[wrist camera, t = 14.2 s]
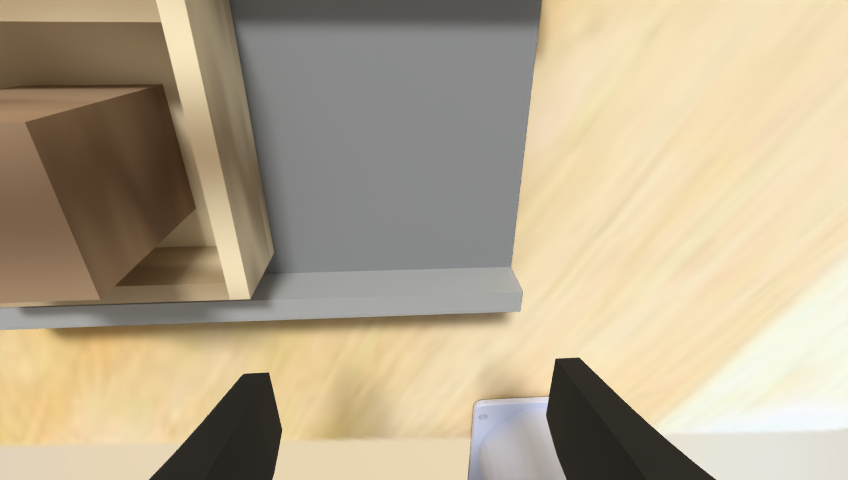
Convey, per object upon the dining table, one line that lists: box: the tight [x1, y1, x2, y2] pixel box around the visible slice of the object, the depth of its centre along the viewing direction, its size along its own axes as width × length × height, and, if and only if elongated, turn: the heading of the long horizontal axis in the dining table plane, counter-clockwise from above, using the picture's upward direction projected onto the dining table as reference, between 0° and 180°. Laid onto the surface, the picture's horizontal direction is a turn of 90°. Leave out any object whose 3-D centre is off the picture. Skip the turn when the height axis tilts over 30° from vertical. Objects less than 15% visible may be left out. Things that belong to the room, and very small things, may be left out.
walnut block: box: [0, 84, 196, 303], centre depth 12 cm, size 4×4×6 cm
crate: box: [0, 0, 274, 307], centre depth 14 cm, size 9×9×3 cm
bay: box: [0, 0, 542, 330], centre depth 15 cm, size 14×22×4 cm, turn 90°
